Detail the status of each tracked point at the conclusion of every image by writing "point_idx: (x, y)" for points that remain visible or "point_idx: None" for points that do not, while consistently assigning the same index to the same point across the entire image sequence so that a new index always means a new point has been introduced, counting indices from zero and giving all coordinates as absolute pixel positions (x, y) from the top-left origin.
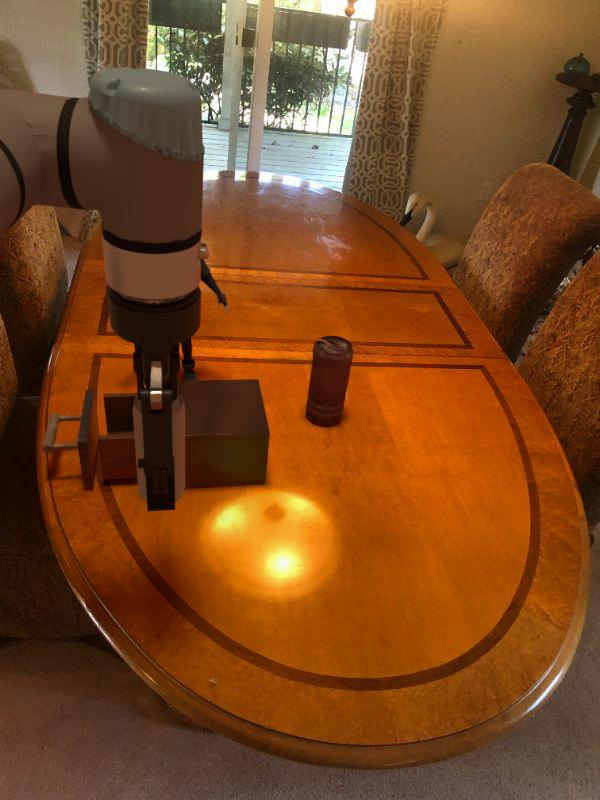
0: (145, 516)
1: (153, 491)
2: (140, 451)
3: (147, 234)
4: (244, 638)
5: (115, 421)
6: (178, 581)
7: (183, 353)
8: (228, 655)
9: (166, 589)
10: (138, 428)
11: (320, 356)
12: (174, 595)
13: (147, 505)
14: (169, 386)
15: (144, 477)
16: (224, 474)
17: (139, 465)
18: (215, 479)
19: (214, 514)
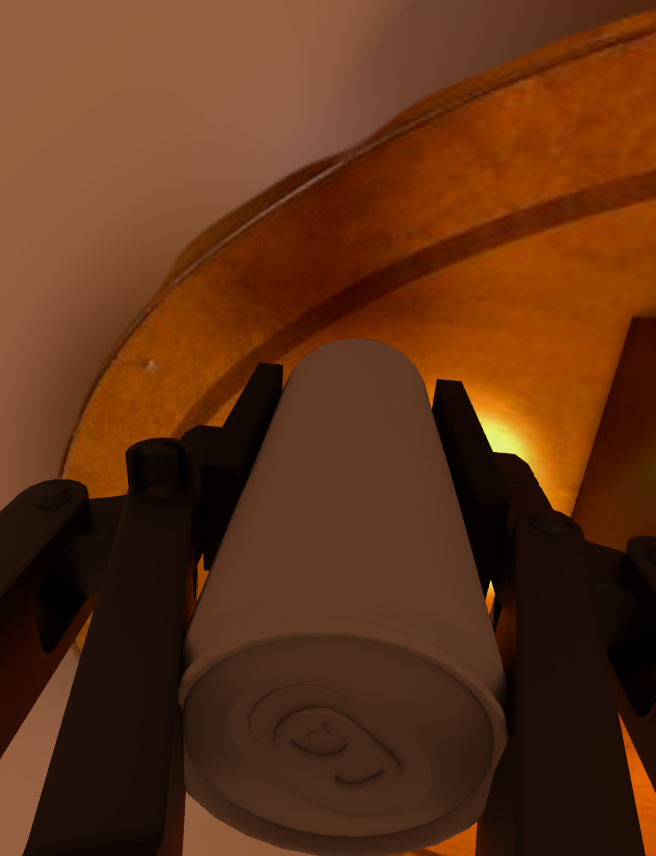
0: (557, 274)
1: (184, 434)
2: (276, 454)
3: None
4: (221, 425)
5: None
6: (358, 330)
7: None
8: (193, 395)
9: (343, 305)
10: (252, 540)
11: None
12: (326, 319)
13: (254, 371)
14: (476, 850)
15: (287, 401)
16: (605, 469)
17: (127, 459)
18: (605, 445)
19: (515, 421)
